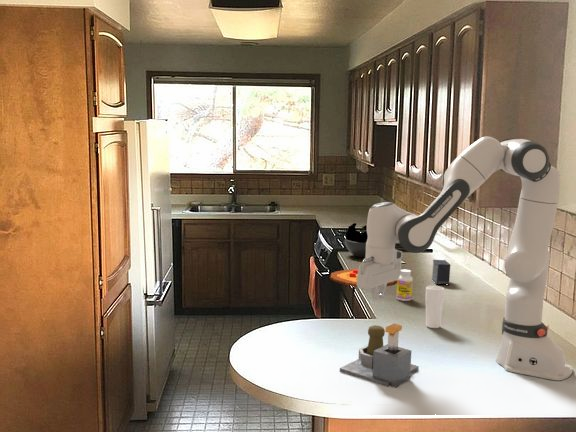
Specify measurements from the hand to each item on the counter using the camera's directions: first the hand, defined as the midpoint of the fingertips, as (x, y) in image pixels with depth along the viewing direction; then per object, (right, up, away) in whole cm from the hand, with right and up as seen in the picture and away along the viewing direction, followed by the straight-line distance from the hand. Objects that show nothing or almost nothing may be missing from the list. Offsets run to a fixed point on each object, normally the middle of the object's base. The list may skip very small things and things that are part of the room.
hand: (378, 298), depth 195 cm
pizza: (+9, -6, +114) cm, 114 cm away
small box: (+46, -7, +109) cm, 119 cm away
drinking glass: (+27, -16, +41) cm, 52 cm away
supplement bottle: (+23, -11, +78) cm, 82 cm away
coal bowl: (+14, +2, +166) cm, 167 cm away
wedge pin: (+3, -16, -11) cm, 19 cm away
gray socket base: (0, -22, -3) cm, 22 cm away
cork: (0, -20, +3) cm, 20 cm away
